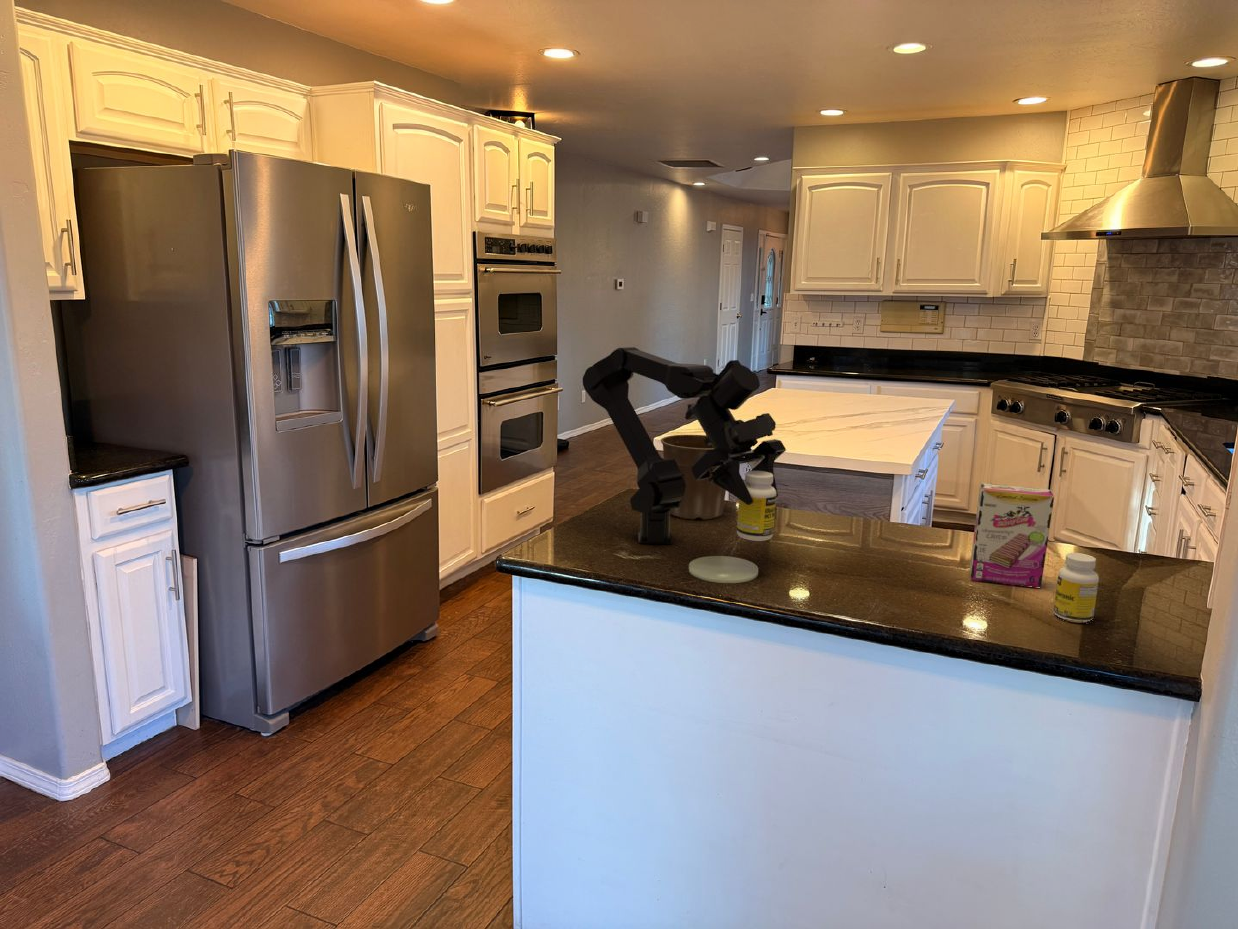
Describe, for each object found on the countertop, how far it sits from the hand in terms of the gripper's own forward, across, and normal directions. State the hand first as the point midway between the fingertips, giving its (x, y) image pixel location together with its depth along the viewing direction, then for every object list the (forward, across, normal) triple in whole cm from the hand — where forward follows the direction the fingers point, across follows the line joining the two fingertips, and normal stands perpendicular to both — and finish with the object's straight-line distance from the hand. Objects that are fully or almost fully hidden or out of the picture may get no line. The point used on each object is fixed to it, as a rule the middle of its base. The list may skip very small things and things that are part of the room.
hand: (763, 500), depth 140 cm
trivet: (+6, -3, +13) cm, 15 cm away
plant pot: (-14, +20, +35) cm, 43 cm away
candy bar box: (+29, +32, -11) cm, 44 cm away
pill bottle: (+4, 0, +6) cm, 7 cm away
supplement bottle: (+39, +24, -21) cm, 50 cm away
